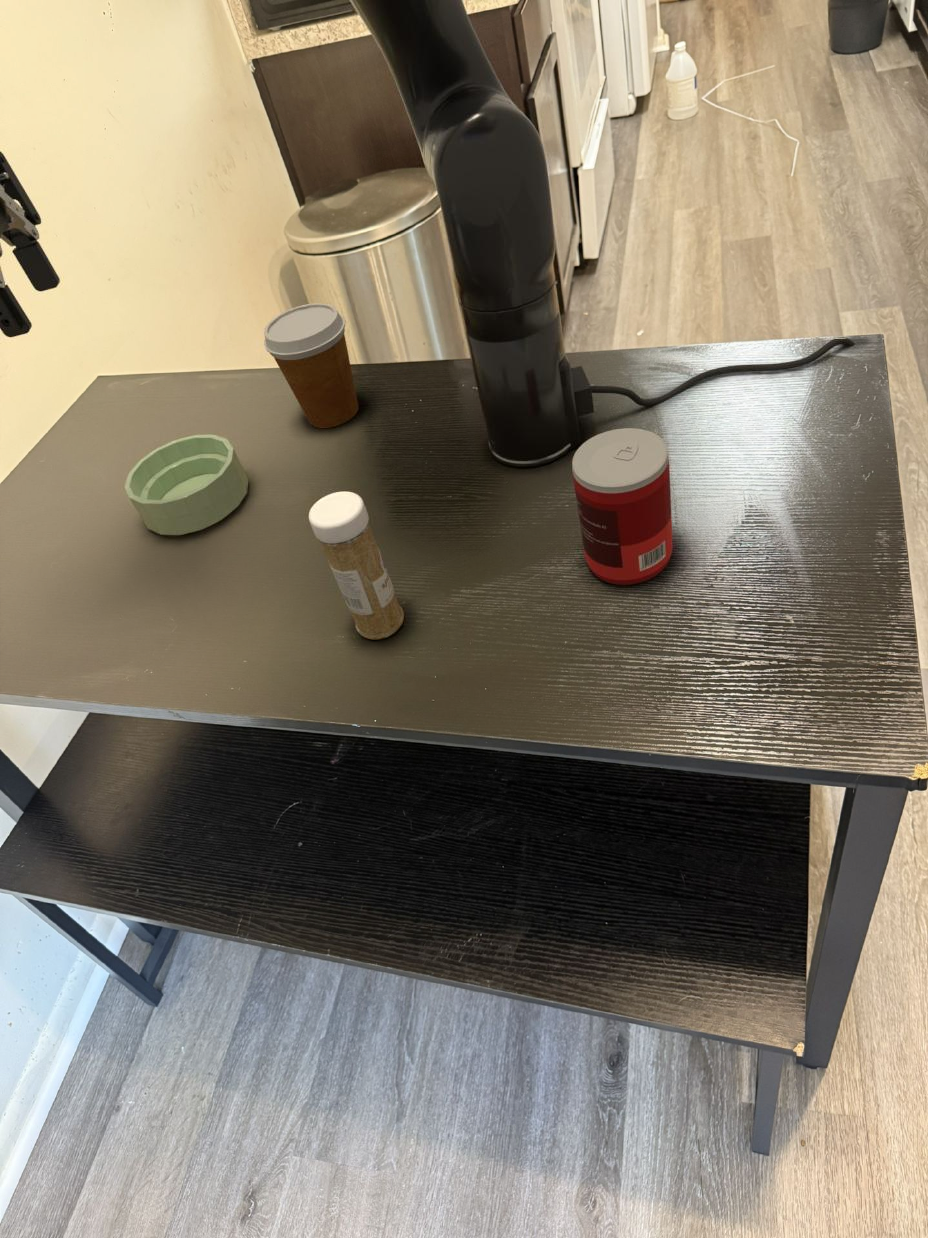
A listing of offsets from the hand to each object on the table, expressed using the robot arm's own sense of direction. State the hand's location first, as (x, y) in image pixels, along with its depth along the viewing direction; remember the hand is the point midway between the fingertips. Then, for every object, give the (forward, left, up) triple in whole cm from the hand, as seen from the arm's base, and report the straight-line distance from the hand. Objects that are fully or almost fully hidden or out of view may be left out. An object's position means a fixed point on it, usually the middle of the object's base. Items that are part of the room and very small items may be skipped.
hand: (35, 309), depth 73 cm
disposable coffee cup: (-17, -20, -28) cm, 38 cm away
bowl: (-1, -8, -28) cm, 29 cm away
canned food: (-44, +17, -28) cm, 55 cm away
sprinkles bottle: (-21, +18, -28) cm, 39 cm away
